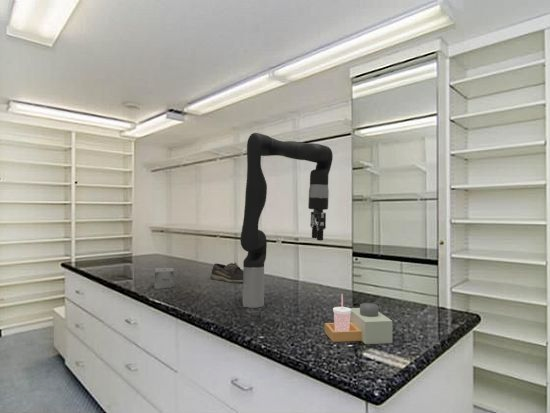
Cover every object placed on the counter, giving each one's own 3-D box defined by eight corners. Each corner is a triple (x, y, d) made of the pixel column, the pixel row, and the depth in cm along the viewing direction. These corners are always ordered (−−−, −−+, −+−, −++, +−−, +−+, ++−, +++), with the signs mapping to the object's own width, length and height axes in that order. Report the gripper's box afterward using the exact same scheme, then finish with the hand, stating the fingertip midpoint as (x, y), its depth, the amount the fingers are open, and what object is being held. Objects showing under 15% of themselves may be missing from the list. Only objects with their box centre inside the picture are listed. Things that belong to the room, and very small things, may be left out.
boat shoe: (247, 285, 202) (247, 266, 202) (205, 280, 215) (205, 262, 215) (256, 281, 212) (256, 263, 212) (215, 277, 225) (216, 260, 225)
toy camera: (335, 345, 111) (336, 313, 112) (322, 328, 127) (322, 300, 127) (392, 343, 114) (392, 311, 114) (371, 326, 130) (372, 299, 130)
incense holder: (154, 289, 188) (154, 270, 188) (154, 286, 196) (154, 267, 196) (173, 288, 191) (174, 269, 191) (173, 285, 199) (173, 266, 199)
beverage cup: (334, 332, 124) (334, 291, 124) (352, 333, 122) (352, 292, 122) (331, 338, 118) (331, 295, 118) (350, 340, 116) (350, 296, 116)
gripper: (305, 197, 144) (303, 237, 144) (313, 196, 130) (311, 241, 130) (323, 197, 145) (322, 237, 145) (333, 196, 131) (331, 241, 131)
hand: (317, 239), depth 137 cm, fingers open, 8 cm apart
